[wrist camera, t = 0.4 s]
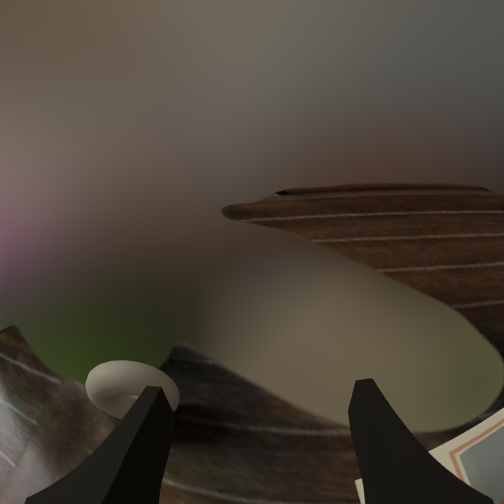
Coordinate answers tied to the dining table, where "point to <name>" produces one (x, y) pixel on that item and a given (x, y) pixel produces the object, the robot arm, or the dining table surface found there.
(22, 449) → the dining table surface
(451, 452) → the white flat sheet
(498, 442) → the slate slab
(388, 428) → the robot arm
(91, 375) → the donut
